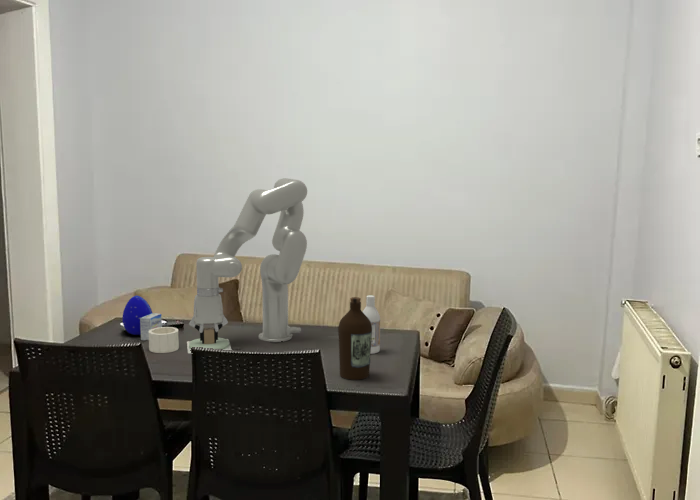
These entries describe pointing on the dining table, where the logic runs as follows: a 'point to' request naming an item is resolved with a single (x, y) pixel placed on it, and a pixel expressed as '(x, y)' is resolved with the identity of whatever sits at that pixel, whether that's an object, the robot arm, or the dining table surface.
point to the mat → (223, 349)
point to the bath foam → (373, 323)
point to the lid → (209, 341)
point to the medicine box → (149, 324)
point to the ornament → (135, 314)
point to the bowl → (163, 340)
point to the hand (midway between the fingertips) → (209, 341)
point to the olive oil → (354, 342)
